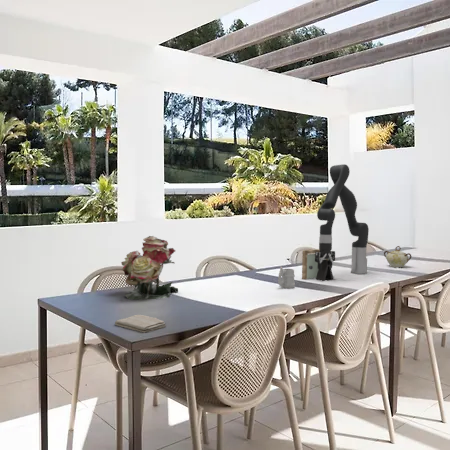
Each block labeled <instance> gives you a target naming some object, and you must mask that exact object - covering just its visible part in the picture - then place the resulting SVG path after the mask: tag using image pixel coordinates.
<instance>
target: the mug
mask: <svg viewBox="0 0 450 450" xmlns="http://www.w3.org/2000/svg"><path fill="white" fill-rule="evenodd" d="M279 267H280V270H279V273H278V277H277V282H278V285H279V287H281V288H283V289H294V288H295V285H296V283H295V277H296V275H295V269H294V268H283V267H282V266H279Z"/></svg>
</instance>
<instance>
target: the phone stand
mask: <svg viewBox="0 0 450 450" xmlns="http://www.w3.org/2000/svg"><path fill="white" fill-rule="evenodd" d="M330 263H331V262H330V260H322V262H321V269H319V270H318V273H317V277H316V278H315V280H316V279H317V280H318V281H321V280H322V281H323V282H325V280H327V281H333V280H334V274H333V270H332V268H331V266H330ZM317 280H316V281H317ZM322 281H321V282H322Z"/></svg>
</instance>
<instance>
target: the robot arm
mask: <svg viewBox="0 0 450 450" xmlns="http://www.w3.org/2000/svg"><path fill="white" fill-rule="evenodd" d="M350 171H351V170H350V167H349V166H348V165H347V164H336V165H331V167H330V168H329V175H330V178H331V180H332V183H333V186H332V187H331V188H330V189H329V190H328V191H327V193H326V196H325V199H324V201H323V202H322V204H321V206H320V207H319V209H318V210H317V219H318V220H320V221H326V223H324V224H321V225H319V237H318V238H319V240H318V249H320V252H315V253H314V254H315V262H317V263H318V269H321V262H322V260H324V259H328V260H330V262H331V263H330V266H331V269H333V263H334V261H335V262H336V251H334V250H333V235H332V234H333V233H332V232H333V225H334V222H335V218H336V211H335V210H334V208H336V205H337V202H338V199H339V200H340V203H341V206H342V208H343V211H344V212H343V213H344V214H345V215H344V216H345V217H346V220H347V221H346V222H347V226H348V230H349V233H350V234H351V235H352V236H353V237H358V238H357V240H355V241H353V242H352V243H351V268H350V269H351V270H350V273H352V274H355V275H356V274H357V275H365V274H367V273H368V258H367V246H368V241H369V231H370V230H369V225H368V223H366V222H358V220H357V218H356V211H357V208H358V202H357V199H356V196H355V194H354V193H353V192H352V190H350V189H349V187H347V186H346V185H345V184H346V182H347V181H348V178H349V176H350ZM319 255H320V256H319Z"/></svg>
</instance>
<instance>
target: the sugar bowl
mask: <svg viewBox="0 0 450 450" xmlns="http://www.w3.org/2000/svg"><path fill="white" fill-rule="evenodd" d="M398 248H399V249H398ZM401 249H402V248H401V246H400V245H398V246H396V247H395V249H394V250H392V251H388V250H385V251H384V252H383V255H384V257H385V259H386V261H387V263H388V264H389V266H390V267H391V268H395V267H402V268H404V266H406V264H408V263H409V261H410V260H411V259H412V254H411V253H409V252H408V253H406V252H404V251H402V250H401ZM386 253H387V254H386Z"/></svg>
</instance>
